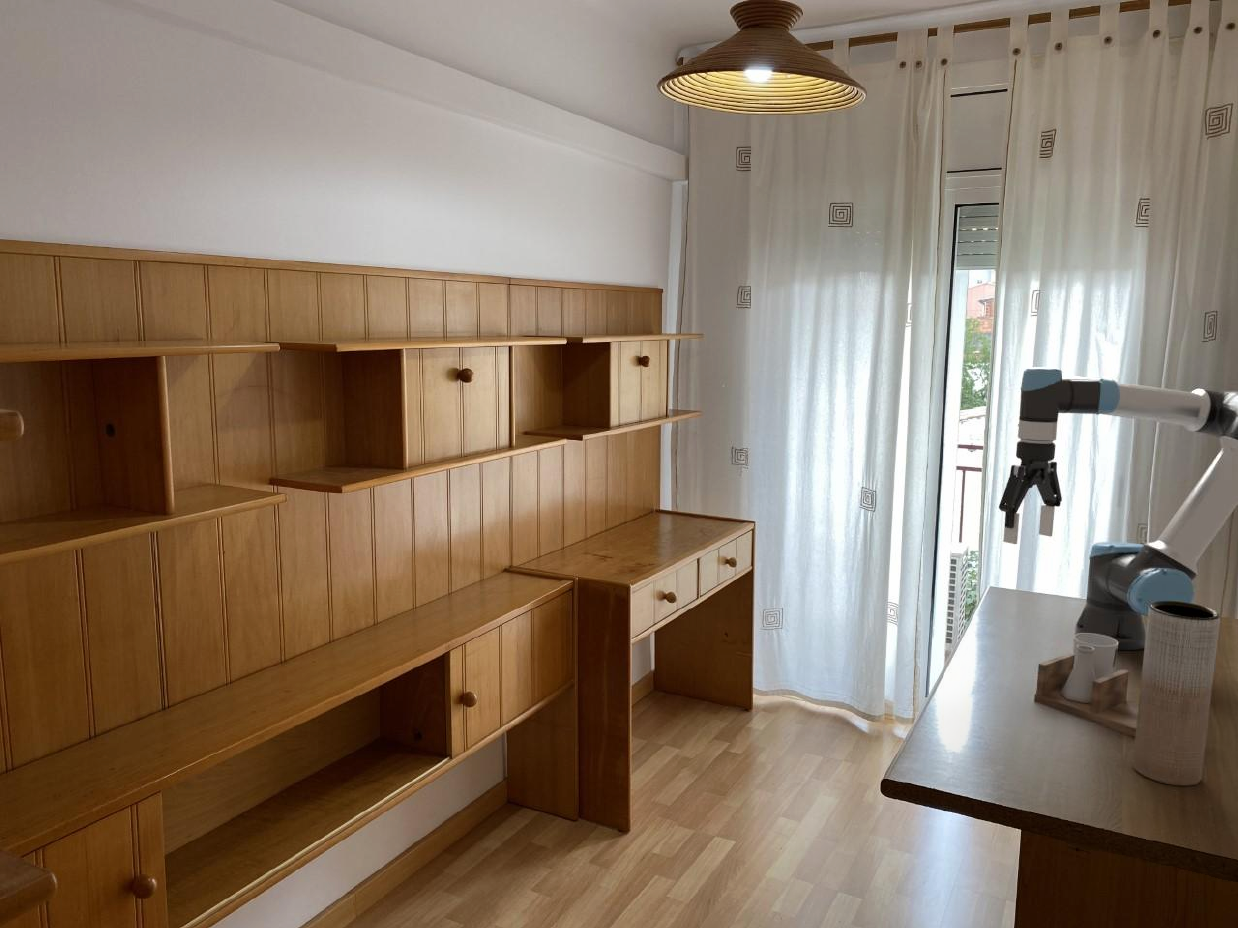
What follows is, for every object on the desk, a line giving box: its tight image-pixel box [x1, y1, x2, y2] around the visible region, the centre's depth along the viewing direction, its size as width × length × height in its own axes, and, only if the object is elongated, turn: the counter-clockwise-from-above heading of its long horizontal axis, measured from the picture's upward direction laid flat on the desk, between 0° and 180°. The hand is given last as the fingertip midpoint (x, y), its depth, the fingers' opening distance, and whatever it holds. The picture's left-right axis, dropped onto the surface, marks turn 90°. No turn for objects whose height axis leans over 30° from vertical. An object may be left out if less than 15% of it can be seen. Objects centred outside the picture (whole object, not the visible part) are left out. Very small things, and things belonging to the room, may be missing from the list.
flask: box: [1061, 645, 1096, 703], centre depth 188 cm, size 7×7×10 cm
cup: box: [1072, 633, 1118, 680], centre depth 197 cm, size 8×8×10 cm
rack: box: [1033, 653, 1139, 738], centre depth 184 cm, size 12×23×8 cm, turn 36°
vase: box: [1132, 601, 1221, 787], centre depth 158 cm, size 10×10×28 cm
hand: (1028, 539), depth 210 cm, fingers open, 13 cm apart
